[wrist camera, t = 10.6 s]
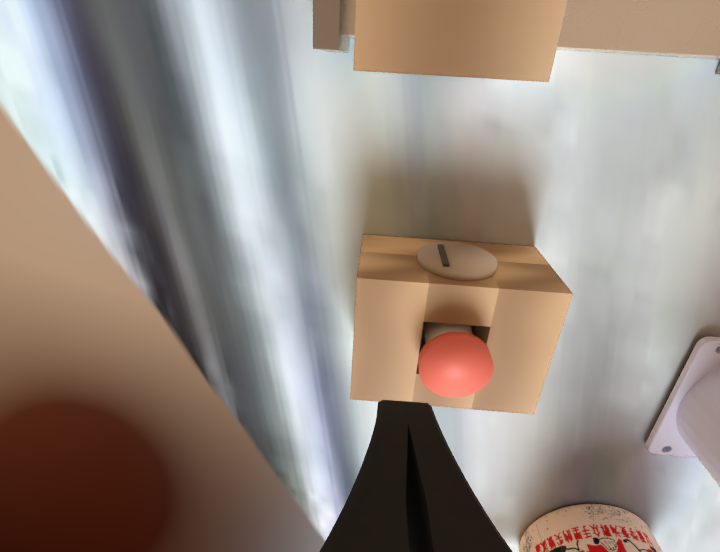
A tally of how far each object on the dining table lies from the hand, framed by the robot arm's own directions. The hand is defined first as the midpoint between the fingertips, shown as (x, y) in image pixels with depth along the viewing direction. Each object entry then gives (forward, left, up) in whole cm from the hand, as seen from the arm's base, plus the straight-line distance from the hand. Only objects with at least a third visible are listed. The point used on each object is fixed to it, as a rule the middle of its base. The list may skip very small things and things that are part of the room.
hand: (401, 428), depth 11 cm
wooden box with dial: (-2, +1, -10) cm, 10 cm away
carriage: (-1, -11, -10) cm, 15 cm away
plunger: (-2, +1, -8) cm, 8 cm away
